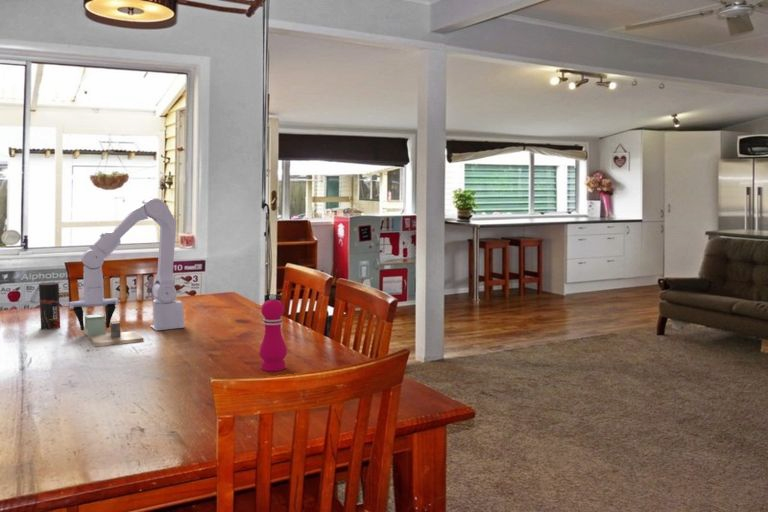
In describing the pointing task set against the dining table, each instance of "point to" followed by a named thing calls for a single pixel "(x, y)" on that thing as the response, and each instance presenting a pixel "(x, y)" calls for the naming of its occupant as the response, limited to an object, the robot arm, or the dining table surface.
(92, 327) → the mint green grooved cube
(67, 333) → the dining table surface
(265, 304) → the pepper mill
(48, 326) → the deodorant
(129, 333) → the board
